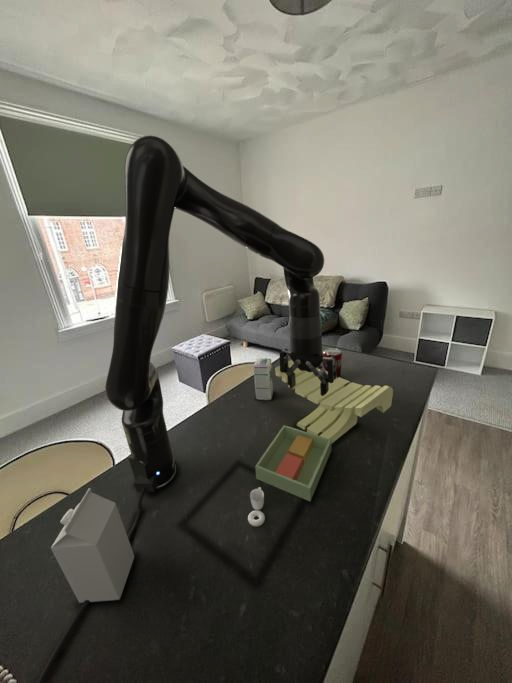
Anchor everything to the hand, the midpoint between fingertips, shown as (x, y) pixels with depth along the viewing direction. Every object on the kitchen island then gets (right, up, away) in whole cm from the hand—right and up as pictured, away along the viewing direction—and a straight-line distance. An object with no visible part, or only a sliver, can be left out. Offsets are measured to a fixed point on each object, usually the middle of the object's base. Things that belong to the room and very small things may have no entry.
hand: (307, 390), depth 72 cm
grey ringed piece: (-16, -26, -9) cm, 32 cm away
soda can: (+18, -3, +43) cm, 46 cm away
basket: (-3, -20, +2) cm, 21 cm away
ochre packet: (-1, -18, +5) cm, 19 cm away
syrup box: (-10, -8, +34) cm, 36 cm away
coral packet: (-5, -21, -1) cm, 22 cm away
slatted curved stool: (+9, -14, +16) cm, 24 cm away
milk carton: (-41, -32, -20) cm, 55 cm away
